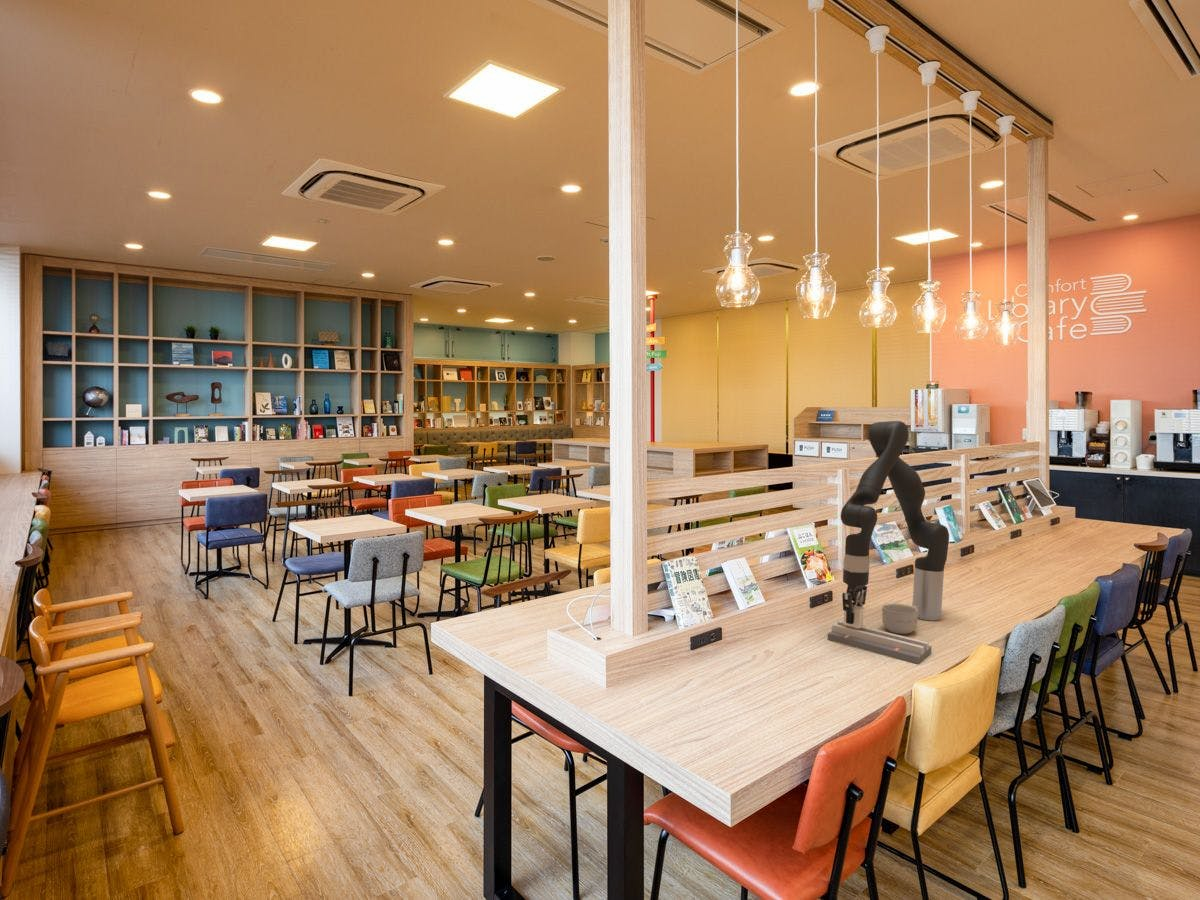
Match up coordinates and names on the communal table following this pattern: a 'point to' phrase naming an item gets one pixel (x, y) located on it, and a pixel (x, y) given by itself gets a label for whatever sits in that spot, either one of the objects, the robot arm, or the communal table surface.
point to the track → (878, 648)
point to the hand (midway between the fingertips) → (853, 621)
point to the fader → (856, 618)
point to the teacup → (900, 618)
